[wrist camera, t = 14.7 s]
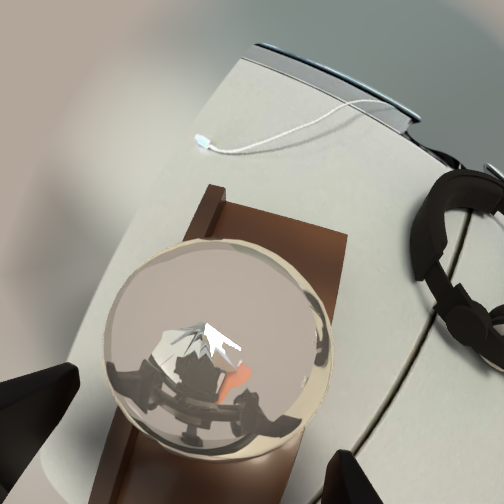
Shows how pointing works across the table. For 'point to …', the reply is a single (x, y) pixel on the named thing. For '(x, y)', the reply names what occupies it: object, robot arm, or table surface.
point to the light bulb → (218, 350)
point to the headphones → (431, 249)
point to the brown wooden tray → (231, 474)
